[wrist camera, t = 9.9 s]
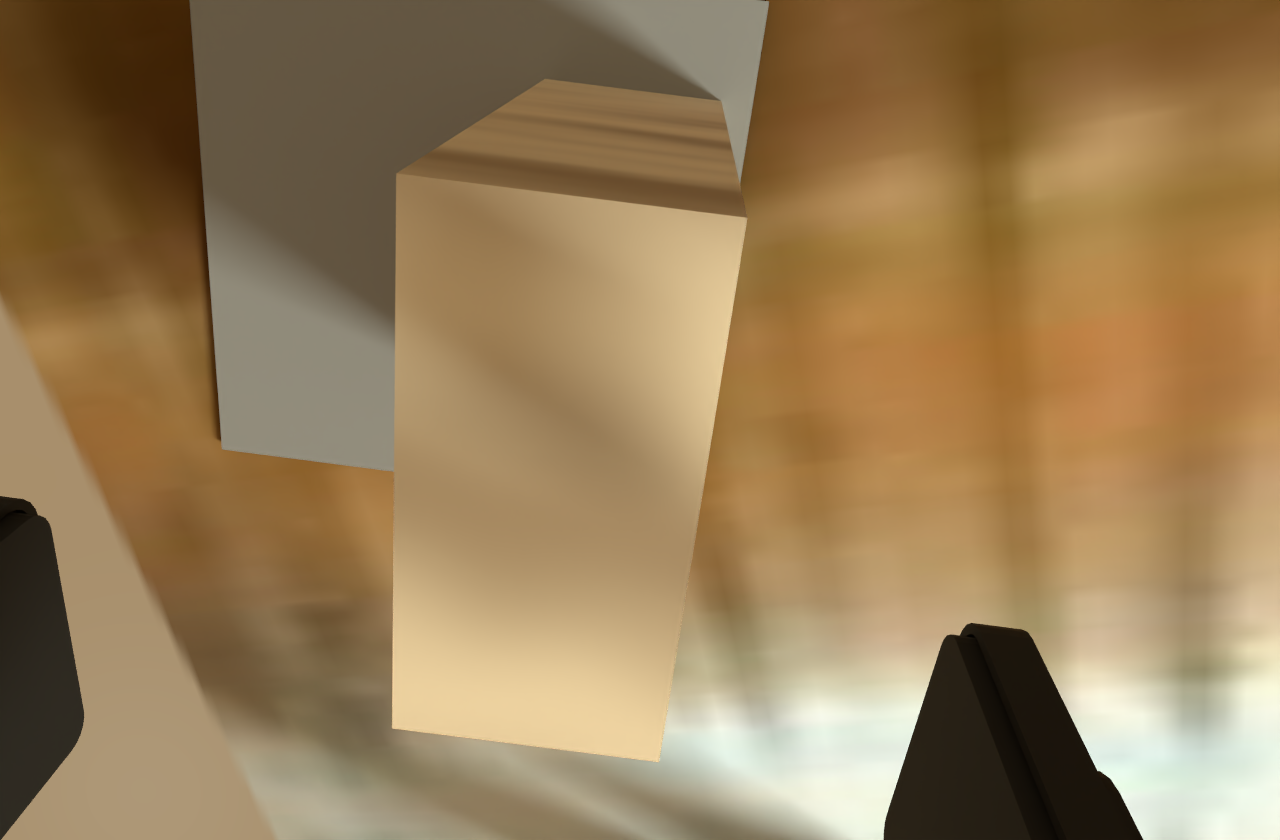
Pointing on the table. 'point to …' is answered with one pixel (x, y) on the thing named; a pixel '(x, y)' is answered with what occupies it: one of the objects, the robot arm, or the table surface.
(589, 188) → the slab
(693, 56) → the mat
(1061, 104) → the table surface
